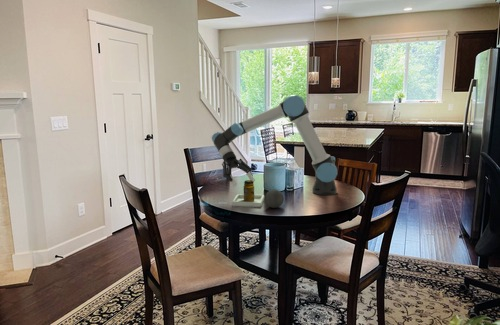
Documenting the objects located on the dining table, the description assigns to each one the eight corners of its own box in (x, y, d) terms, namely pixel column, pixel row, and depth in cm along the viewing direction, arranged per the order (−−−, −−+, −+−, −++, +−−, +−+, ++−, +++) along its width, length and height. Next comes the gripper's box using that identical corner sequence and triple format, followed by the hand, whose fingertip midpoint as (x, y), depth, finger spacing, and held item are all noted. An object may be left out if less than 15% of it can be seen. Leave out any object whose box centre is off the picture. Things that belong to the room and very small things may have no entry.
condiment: (257, 202, 199) (257, 181, 197) (244, 204, 194) (244, 183, 192) (250, 199, 205) (250, 179, 203) (237, 201, 200) (237, 181, 198)
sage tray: (264, 199, 207) (264, 195, 206) (261, 207, 191) (261, 202, 191) (237, 198, 209) (237, 194, 209) (232, 206, 194) (232, 201, 193)
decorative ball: (261, 208, 189) (261, 190, 187) (271, 203, 197) (271, 186, 196) (278, 211, 184) (278, 192, 182) (287, 206, 192) (287, 188, 190)
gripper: (240, 156, 219) (257, 183, 211) (208, 161, 203) (224, 191, 194) (246, 148, 214) (263, 176, 206) (213, 153, 198) (230, 183, 189)
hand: (244, 183), depth 200 cm, fingers open, 13 cm apart
